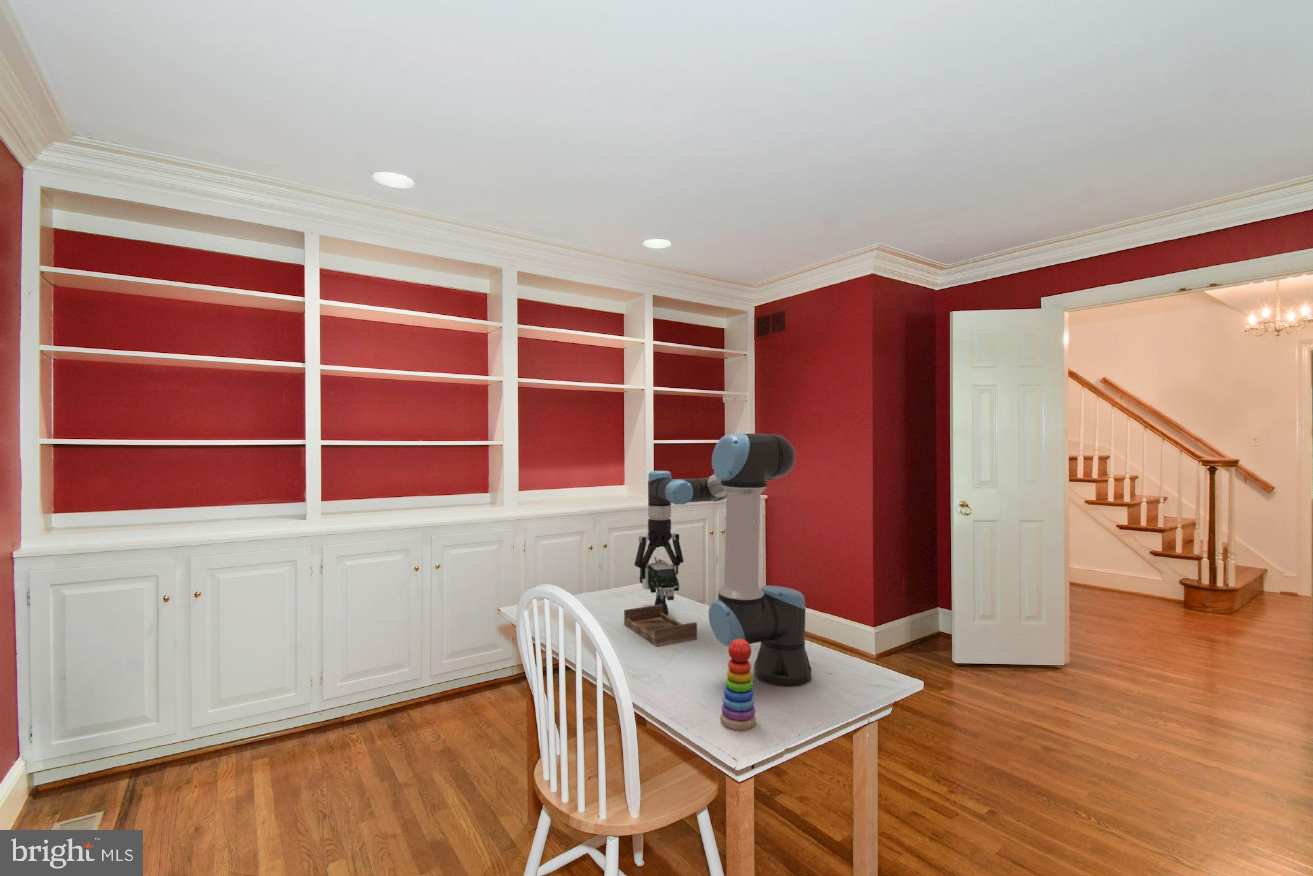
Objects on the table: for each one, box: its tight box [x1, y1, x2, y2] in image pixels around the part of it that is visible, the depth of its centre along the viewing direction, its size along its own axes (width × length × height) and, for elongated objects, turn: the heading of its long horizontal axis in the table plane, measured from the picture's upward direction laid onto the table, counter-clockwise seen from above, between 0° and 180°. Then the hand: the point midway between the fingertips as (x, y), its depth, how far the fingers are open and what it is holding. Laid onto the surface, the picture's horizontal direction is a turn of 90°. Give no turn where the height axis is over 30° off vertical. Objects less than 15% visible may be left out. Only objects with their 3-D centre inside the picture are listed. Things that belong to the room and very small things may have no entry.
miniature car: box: [639, 561, 680, 594], centre depth 193 cm, size 9×18×8 cm, turn 17°
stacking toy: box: [719, 639, 757, 731], centre depth 132 cm, size 8×8×19 cm
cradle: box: [623, 604, 698, 647], centre depth 193 cm, size 23×14×5 cm, turn 28°
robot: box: [647, 556, 675, 616], centre depth 214 cm, size 20×5×20 cm, turn 26°
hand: (659, 586), depth 193 cm, fingers closed on miniature car, 10 cm apart
